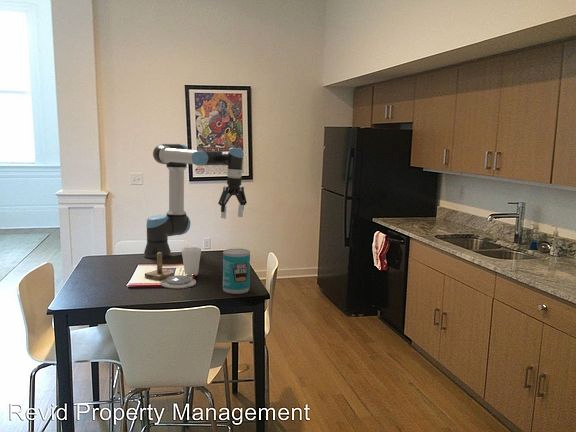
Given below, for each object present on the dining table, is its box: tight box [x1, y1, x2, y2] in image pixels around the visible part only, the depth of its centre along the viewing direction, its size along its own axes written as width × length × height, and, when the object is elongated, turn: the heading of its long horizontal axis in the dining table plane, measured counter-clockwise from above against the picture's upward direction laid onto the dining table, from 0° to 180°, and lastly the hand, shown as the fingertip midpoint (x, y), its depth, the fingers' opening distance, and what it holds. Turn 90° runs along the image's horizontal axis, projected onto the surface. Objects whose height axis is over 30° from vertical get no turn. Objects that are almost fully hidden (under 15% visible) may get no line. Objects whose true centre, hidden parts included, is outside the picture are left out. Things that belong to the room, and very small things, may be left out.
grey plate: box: [160, 275, 197, 290], centre depth 223 cm, size 16×16×2 cm
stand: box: [144, 252, 176, 282], centre depth 233 cm, size 10×10×12 cm
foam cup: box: [181, 246, 202, 276], centre depth 240 cm, size 10×9×13 cm
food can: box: [222, 248, 251, 295], centre depth 215 cm, size 12×12×18 cm
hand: (232, 217), depth 253 cm, fingers open, 13 cm apart
